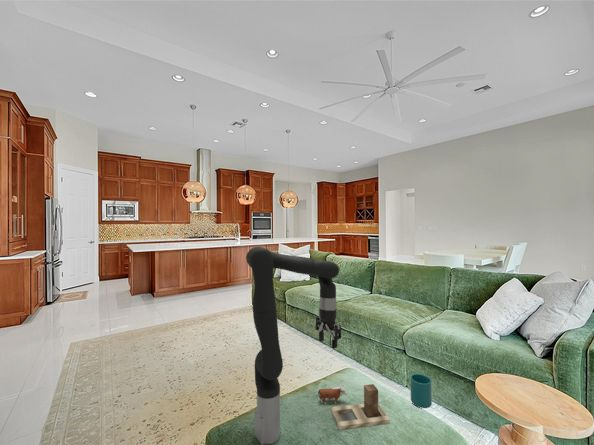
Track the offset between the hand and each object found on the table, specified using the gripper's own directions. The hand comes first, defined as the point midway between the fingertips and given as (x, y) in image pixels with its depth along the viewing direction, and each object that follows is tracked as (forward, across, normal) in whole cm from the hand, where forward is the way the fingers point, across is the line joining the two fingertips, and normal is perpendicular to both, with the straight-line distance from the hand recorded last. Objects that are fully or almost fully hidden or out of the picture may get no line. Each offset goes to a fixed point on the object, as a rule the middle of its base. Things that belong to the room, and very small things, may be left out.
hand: (327, 344), depth 121 cm
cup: (+32, +16, +44) cm, 57 cm away
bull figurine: (+32, -6, +8) cm, 34 cm away
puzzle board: (+32, +8, +11) cm, 35 cm away
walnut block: (+31, +10, +16) cm, 36 cm away
